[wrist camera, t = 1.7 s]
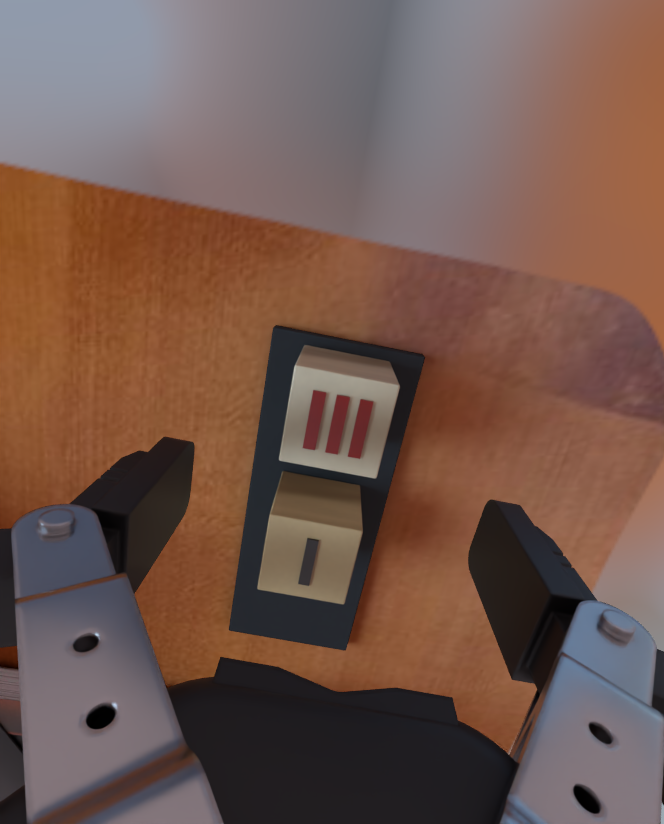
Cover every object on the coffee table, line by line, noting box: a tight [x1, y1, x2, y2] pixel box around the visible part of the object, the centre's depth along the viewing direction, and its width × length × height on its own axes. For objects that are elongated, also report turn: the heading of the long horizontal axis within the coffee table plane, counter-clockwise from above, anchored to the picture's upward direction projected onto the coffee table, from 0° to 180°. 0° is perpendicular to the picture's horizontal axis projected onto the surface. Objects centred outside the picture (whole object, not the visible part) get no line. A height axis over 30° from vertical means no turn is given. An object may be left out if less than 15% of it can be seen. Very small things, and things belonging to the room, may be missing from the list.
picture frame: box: [0, 667, 25, 802], centre depth 30 cm, size 16×2×22 cm
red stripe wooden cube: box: [279, 345, 400, 478], centre depth 19 cm, size 4×4×4 cm
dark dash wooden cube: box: [257, 471, 363, 604], centre depth 21 cm, size 4×4×4 cm
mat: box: [229, 325, 425, 650], centre depth 23 cm, size 18×7×1 cm, turn 169°
